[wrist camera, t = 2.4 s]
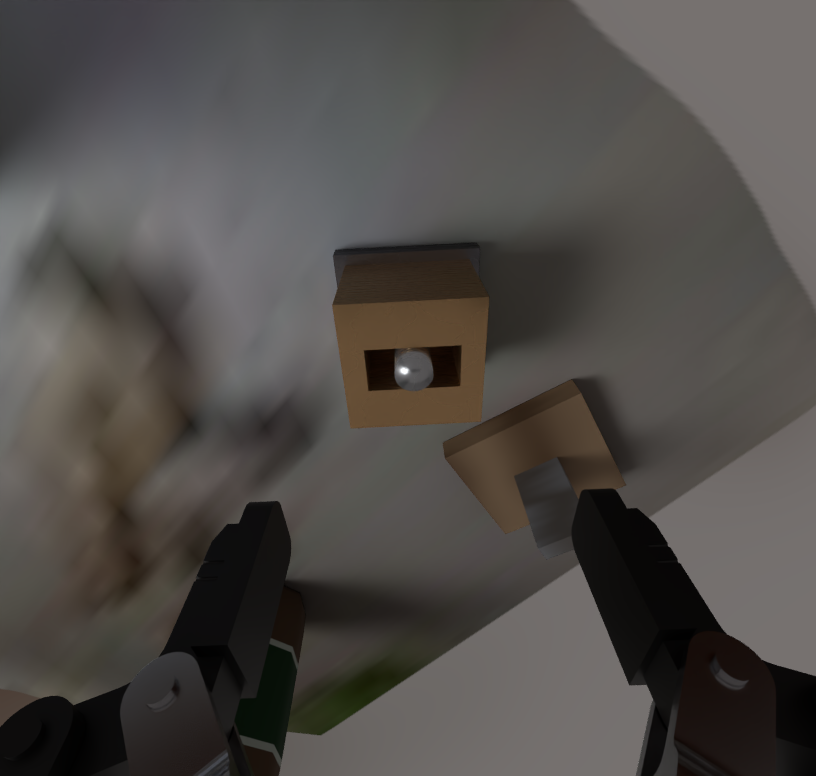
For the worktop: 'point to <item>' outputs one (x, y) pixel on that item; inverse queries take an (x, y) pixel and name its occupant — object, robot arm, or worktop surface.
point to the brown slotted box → (412, 340)
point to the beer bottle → (273, 690)
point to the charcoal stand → (409, 362)
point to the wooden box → (536, 465)
